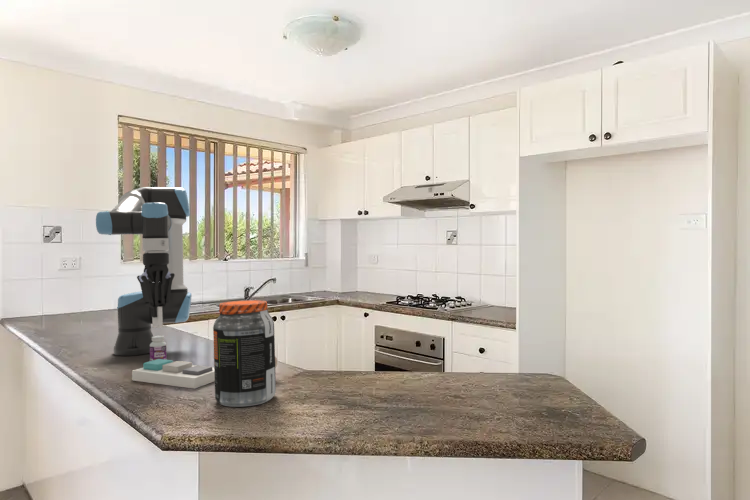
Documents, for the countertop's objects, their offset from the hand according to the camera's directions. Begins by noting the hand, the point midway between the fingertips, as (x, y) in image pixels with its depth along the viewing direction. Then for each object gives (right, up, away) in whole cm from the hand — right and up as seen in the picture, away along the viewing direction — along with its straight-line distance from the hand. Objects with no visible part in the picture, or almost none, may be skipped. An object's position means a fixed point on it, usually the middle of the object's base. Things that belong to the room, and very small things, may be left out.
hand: (157, 327), depth 161 cm
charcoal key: (+15, -14, -6) cm, 22 cm away
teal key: (0, -14, 0) cm, 14 cm away
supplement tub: (+34, -16, -25) cm, 45 cm away
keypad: (+7, -16, -3) cm, 17 cm away
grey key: (+7, -14, -3) cm, 16 cm away
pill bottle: (-7, -16, +18) cm, 25 cm away
